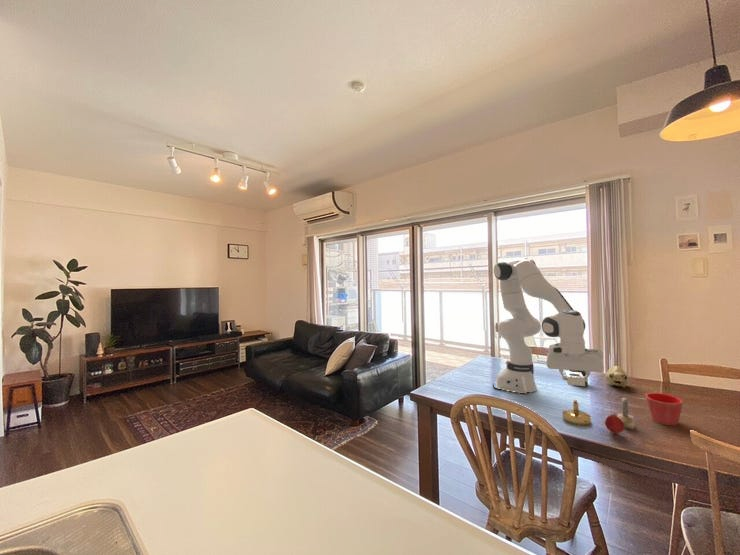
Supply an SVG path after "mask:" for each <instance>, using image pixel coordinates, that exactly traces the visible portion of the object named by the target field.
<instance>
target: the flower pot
mask: <svg viewBox="0 0 740 555" xmlns="http://www.w3.org/2000/svg"><path fill="white" fill-rule="evenodd" d="M645 398H646V402H647V406H648V409H649V412H650V415H651V418H652V420H653V421H654V422H656V423H659V424H661V425H662V424H663V425H666V426H677V425H678V424H679V422H680V417H681V413H682V408H683V403H684V402H683V400H682V399H680V398H679V397H676V396H674V395H672V394H671V395H670V394H666V393H659V392H649V393H646V394H645Z"/></svg>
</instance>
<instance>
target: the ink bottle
mask: <svg viewBox="0 0 740 555" xmlns="http://www.w3.org/2000/svg"><path fill="white" fill-rule="evenodd" d="M568 371H569V372H581V373H582V375H583V376H585V375H586V372H585V371H575V370H568ZM588 378H589V377H588ZM588 378H587V379H588ZM588 385H589V381H588V382H585V386H584V387H587V386H588ZM574 386H577V387H579V386H578V385H574Z"/></svg>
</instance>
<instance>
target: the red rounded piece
mask: <svg viewBox="0 0 740 555" xmlns="http://www.w3.org/2000/svg"><path fill="white" fill-rule="evenodd" d="M604 424H605V428H606V429H607V430H609V432H611V433H613V434H614V435H618V434H620V433H622V432H624V430H625V428H624V423H623V422H622V420H621V419H620V418H618V415H617V414H616V413H612V414H611V415H609V416H607V417H606V418H605V421H604Z"/></svg>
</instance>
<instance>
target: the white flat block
mask: <svg viewBox="0 0 740 555" xmlns="http://www.w3.org/2000/svg"><path fill="white" fill-rule="evenodd" d="M564 375H566V376H567V380H565V381H566V383H567V385H568V386H575V385H578V386H577V387H586V386H585V378H584V377H583V375H582V373H581V372H569V370H565V371H564Z"/></svg>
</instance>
